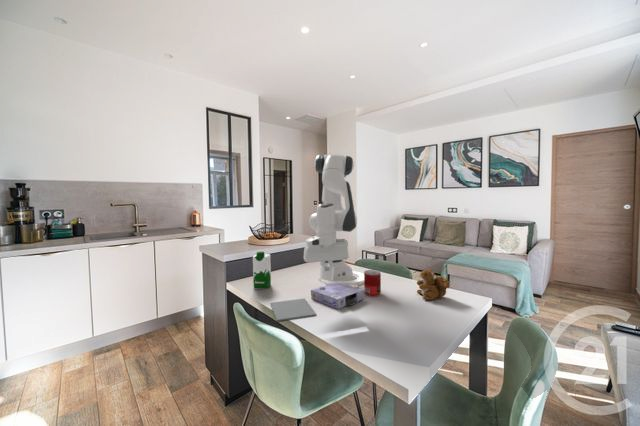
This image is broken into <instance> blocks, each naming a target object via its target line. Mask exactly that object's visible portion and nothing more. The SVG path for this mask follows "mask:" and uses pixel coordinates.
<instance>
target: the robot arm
mask: <svg viewBox="0 0 640 426" xmlns="http://www.w3.org/2000/svg"><path fill="white" fill-rule="evenodd" d="M313 163H314V164H313V165H314V169H315V171H316V172H317V173H319V174H322V175H321V181H322V194H321V195H322V196H321V202H322V203H319V204H317V206H316V212H315V213H312V214H311V215H310V216H309V221H308V222H309V223H308V224H309V226H310V228H311V229H312V230H313V231H314V232H315V235H314V236H312V237H309V238H306V239H305V244H306V245H305V246H304V248H303V261H304V262H306V263H320V268H319V273H318V277H317V280H318V281H320V282H321V279H322V280H328V281H351V280H356V279H358V277H357V276H356V275H354V274H353V271H354V270H353V269H352V268H353V267H351V266H350V265H349V264H348V263H346V262H345V261H346V260H348V258H349V249H348V247H349V242H348V240H347V239H345V238H337V232H352V231H353V230H355V229H356V228H357V226H358V225H357V224H358V218H357V215H356V212H355V211H356V210H355V208H354V206H355V205H354V200H353V193H352V191H351V190H352V189H351V185H350V182H349V181H347V180H346V177H347V176H349V175H350V174H351V173H352V171H353V170H354V165H355V164H354V163H355V161H354V160H353V157H351V156H349V155H344V154H343V155H342V154H318V155H317V156H316V157H315V160H314V162H313ZM342 197H343V200H344V205H345V209H344V208H343V204H342ZM344 260H345V261H344Z"/></svg>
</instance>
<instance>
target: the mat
mask: <svg viewBox="0 0 640 426" xmlns="http://www.w3.org/2000/svg"><path fill="white" fill-rule="evenodd" d="M270 306H271V310H272V312H273V315H274V317H275V320H276V322H280V321H281V322H282V321H289V320H295V319H302V318H309V317H316V316H317V313H316V311H315V310H314V308H312V306H311V304H309V302H308V301H307V300H306V298H299V299H289V300H281V301H274V302H270Z"/></svg>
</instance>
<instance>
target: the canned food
mask: <svg viewBox="0 0 640 426" xmlns="http://www.w3.org/2000/svg"><path fill="white" fill-rule="evenodd" d="M363 274H364V283H363V284H364V287H363V288H364V294H365V295H367V296H369V297H378V296H380V295H381V292H382V290H381V288H382V287H381V286H382V284H381V283H382V281H381V280H382V279H381V278H382V277H381V271H379V270H376V269H368V270H364V273H363Z"/></svg>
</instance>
